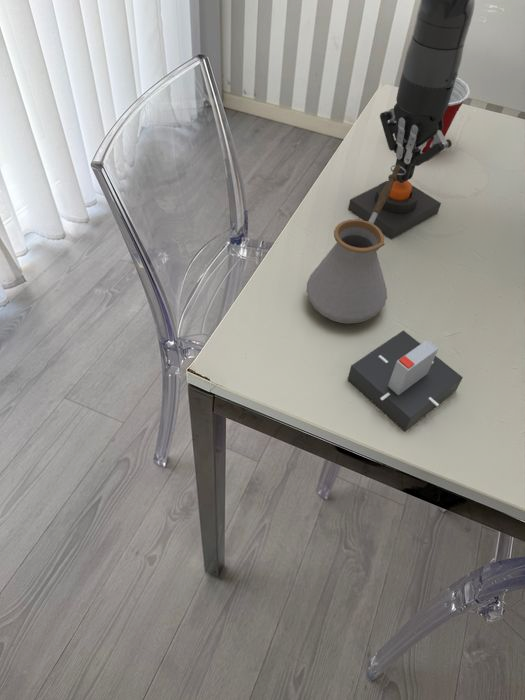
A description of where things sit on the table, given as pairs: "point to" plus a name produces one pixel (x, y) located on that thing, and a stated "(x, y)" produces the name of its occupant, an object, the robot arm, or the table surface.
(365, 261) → the coffee pot
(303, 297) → the table surface
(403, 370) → the timer knob
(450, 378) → the timer panel
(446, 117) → the plastic cup
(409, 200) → the block
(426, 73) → the robot arm
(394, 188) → the power button
